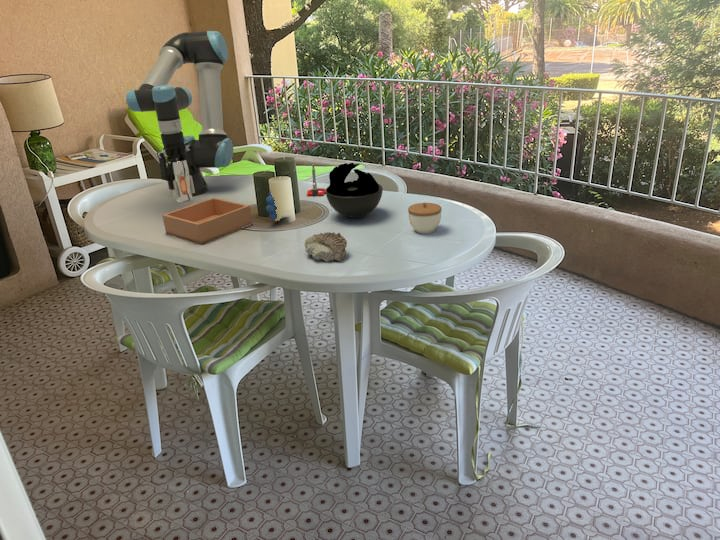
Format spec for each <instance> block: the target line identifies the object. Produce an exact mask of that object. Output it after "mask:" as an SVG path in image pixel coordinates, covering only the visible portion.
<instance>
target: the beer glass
mask: <svg viewBox="0 0 720 540" xmlns="http://www.w3.org/2000/svg"><path fill="white" fill-rule="evenodd" d="M167 163H171V162H168V161H167ZM172 167H173V174H174V175H173V180H175V181H176V186H177V191H178V196H179V198H175V199H176V200H175V201H176V202H177V203H180V204H181V203H189V202H191V201H193V200H194V197H193V196H192V193H191V190H190V172H189V167H188V163H187V160H186V159H185V160H183V161H180V159H179V158H177V159H176V161H175V162H172Z"/></svg>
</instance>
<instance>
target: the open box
mask: <svg viewBox="0 0 720 540" xmlns="http://www.w3.org/2000/svg"><path fill="white" fill-rule="evenodd" d="M161 216H162V220H163V225H164V229H165V234H166V235H168V236H172V237H174V236H175V238H177V239H178V238H179V239H181V240H184V241H188V242H192V243H195V244H199V245H202V246H203V245H205V244H208V243H210V242H213V241H215V240H218V239H220V238H223V237H226V236H228V235H230V234H233V233H235V232H237V230H238V231H240V230H242V229H241V228H242V227H244V226H246V225H249V224H251V223H252V224H253V219H252V212H251V205H248V204H243V203H239V202H234V201H230V200H225V199H221V198H217V197H211V198H209V199H206V200H202V201H200V202H197V203H194V204H191V205H187V206H185V207H182V208H178V209H175V210H173V211H170V212H166V213H164V214H162V215H161ZM239 229H240V230H239Z"/></svg>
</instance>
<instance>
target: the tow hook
mask: <svg viewBox="0 0 720 540" xmlns="http://www.w3.org/2000/svg"><path fill="white" fill-rule="evenodd" d="M311 168H312V170H311V172H312V188H310V189H308V190H307V193H306V196H307V197H323V196H325V195H326V189H327V188H324V187H323V188H318V186H317V185H318V184H317V179H316V169H315V163H312V164H311Z"/></svg>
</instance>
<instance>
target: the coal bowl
mask: <svg viewBox="0 0 720 540" xmlns="http://www.w3.org/2000/svg"><path fill="white" fill-rule="evenodd" d="M358 166H360V163H353V162H349V163H346V162H344V163H342V164H339V165H338V166H334V167H333V169H332V170H331V171H330V172H329V174H328V177H329V186H327V187H326V188H325V189H326V194H325V196H326V199H327V202H328V203H329V204H330V206H331V208H332V209H333V210H335V212H337V213H339V215H342V216H344V217H346V218H347V217H348V218H354V219H356V218H362V217H364V216H367V215H369V214H370V213H371V212H373V211H374V210H375V209H376V208H377V206H378V205H379V204H380V201H381V198H382V197H383V190H384V189H383V186H382V185H381V184H379V183H378V182H377V180H376V178H374V176H373V175H372V174H371V173H370V172H366V171H362V170H361V169H358V168H356V167H358ZM352 170H353V172H354V174H356V175H357V179H356V180H352V181H351V180H350V181H346V182H345V180H346V179H347V178H348V176H349V175H350V174H351V172H352Z"/></svg>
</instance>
